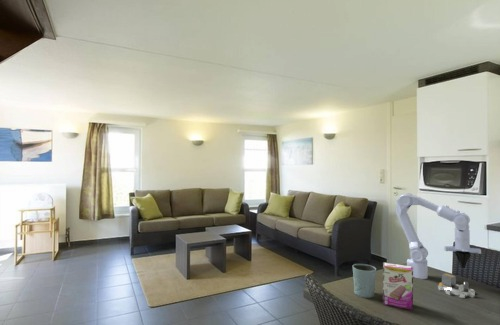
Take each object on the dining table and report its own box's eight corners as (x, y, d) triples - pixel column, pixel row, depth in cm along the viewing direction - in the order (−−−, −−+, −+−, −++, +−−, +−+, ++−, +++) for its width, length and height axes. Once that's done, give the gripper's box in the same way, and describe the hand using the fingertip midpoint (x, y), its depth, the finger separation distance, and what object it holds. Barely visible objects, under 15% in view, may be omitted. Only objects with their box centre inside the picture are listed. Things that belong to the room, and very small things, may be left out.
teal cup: (348, 293, 129) (348, 267, 129) (357, 287, 137) (357, 261, 137) (371, 300, 122) (371, 272, 123) (379, 293, 130) (379, 266, 130)
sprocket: (465, 300, 121) (465, 287, 121) (431, 288, 133) (431, 276, 133) (481, 294, 127) (481, 281, 127) (448, 283, 139) (448, 271, 140)
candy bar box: (382, 305, 118) (382, 265, 119) (382, 300, 123) (382, 262, 123) (413, 310, 114) (413, 269, 114) (412, 305, 118) (412, 265, 119)
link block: (451, 287, 130) (451, 277, 130) (441, 284, 134) (441, 274, 134) (455, 285, 132) (455, 275, 132) (446, 282, 136) (446, 273, 136)
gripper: (447, 239, 135) (448, 268, 134) (484, 241, 131) (484, 271, 130) (442, 236, 141) (442, 263, 141) (476, 238, 137) (477, 266, 137)
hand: (462, 267), depth 136 cm, fingers closed
